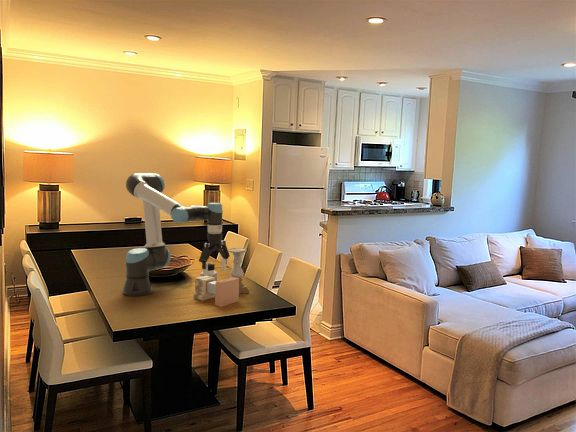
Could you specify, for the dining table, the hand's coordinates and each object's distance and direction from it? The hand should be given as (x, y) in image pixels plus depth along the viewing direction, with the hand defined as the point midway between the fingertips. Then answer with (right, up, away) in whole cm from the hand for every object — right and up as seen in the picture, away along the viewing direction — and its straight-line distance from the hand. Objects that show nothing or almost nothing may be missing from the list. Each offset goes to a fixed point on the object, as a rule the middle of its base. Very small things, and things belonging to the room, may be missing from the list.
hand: (214, 272), depth 258 cm
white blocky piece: (-6, -14, +6) cm, 16 cm away
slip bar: (-2, -10, +2) cm, 10 cm away
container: (-8, -11, +31) cm, 33 cm away
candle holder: (+9, -13, +19) cm, 25 cm away
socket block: (+7, -15, -4) cm, 17 cm away
